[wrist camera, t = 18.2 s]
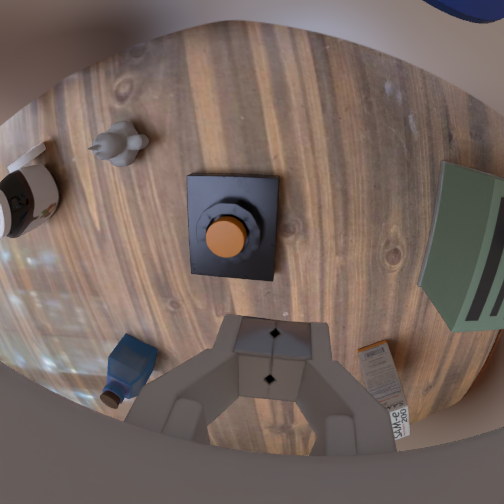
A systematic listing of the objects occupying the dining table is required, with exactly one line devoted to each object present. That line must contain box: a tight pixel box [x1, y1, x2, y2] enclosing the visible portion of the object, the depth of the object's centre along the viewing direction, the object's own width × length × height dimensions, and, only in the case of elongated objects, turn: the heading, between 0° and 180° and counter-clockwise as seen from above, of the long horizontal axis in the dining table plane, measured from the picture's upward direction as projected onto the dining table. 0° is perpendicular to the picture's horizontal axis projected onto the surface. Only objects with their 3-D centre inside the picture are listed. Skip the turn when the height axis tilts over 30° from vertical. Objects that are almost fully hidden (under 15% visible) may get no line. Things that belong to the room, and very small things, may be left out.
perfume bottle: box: [100, 334, 158, 409], centre depth 40 cm, size 6×6×12 cm
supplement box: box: [358, 340, 410, 440], centre depth 33 cm, size 8×5×13 cm, turn 25°
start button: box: [206, 216, 247, 258], centre depth 30 cm, size 4×4×2 cm
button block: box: [187, 173, 280, 281], centre depth 32 cm, size 12×10×4 cm
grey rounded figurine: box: [88, 121, 149, 167], centre depth 28 cm, size 5×7×8 cm
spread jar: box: [0, 142, 60, 239], centre depth 30 cm, size 12×11×12 cm
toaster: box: [417, 160, 504, 332], centre depth 25 cm, size 16×11×11 cm
